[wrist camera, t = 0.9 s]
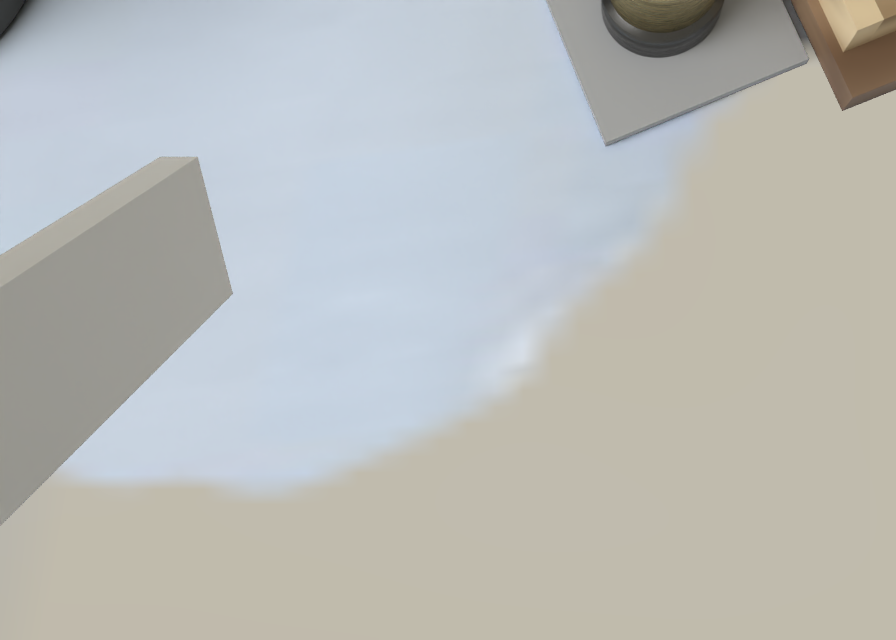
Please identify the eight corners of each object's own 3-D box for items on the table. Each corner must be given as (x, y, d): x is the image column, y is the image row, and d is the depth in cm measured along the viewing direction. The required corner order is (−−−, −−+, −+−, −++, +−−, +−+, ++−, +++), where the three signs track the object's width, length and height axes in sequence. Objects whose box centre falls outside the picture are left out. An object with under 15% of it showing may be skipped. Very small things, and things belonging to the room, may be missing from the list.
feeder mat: (526, -47, 37) (525, -53, 37) (715, -134, 36) (716, -141, 36) (605, 146, 36) (605, 142, 35) (806, 63, 34) (809, 58, 34)
